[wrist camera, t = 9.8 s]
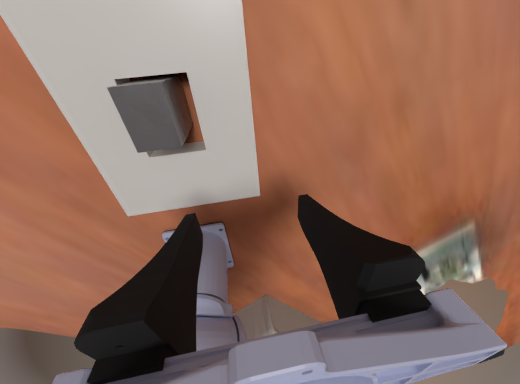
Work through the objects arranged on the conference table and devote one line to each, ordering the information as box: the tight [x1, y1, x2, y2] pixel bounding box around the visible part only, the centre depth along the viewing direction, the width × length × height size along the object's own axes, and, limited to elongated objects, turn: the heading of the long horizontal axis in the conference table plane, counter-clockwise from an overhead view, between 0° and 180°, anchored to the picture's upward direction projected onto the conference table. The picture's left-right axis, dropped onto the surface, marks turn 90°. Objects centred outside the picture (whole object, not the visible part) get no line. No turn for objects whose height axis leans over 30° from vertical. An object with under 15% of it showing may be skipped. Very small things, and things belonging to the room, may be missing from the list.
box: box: [233, 294, 322, 340], centre depth 47 cm, size 23×8×32 cm
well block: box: [0, 0, 260, 216], centre depth 17 cm, size 18×14×2 cm
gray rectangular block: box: [107, 75, 193, 153], centre depth 15 cm, size 4×3×6 cm
